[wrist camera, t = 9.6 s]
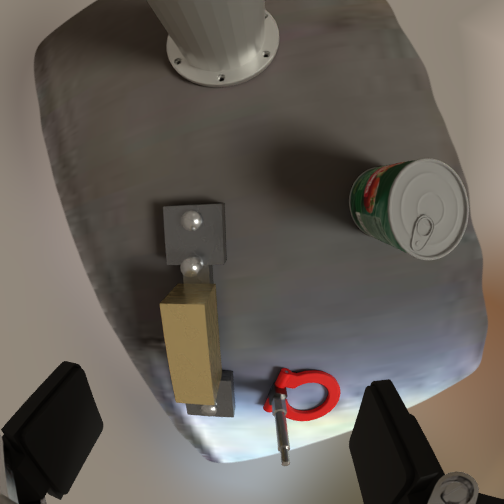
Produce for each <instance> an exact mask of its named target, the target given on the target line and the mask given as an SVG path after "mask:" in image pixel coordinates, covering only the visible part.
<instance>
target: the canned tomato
mask: <svg viewBox="0 0 504 504" xmlns="http://www.w3.org/2000/svg"><path fill="white" fill-rule="evenodd" d="M349 208H350V212H351V216H352V218H353V220H354V222H355V224H356V225H357V226H358V228H359V229H360V230H361V231H363V232H364V233H365V234H367V235H369V236H370V237H374V238H376V239H378V240H380V241H382V242H384V243H387V244H389V245H391V246H393V247H395V248H397V249H400V250H401V251H404V252H406V253H408V254H410V255H412V256H413V257H415V258H418V259H422V260H434V259H439V258H441V257H443V256H446V255H447V254H448V253H450V252H451V251H452V250H453V249H454V248H455V247H456V246H457V245H458V243H459V242H460V240H461V238H462V237H463V234H464V232H465V229H466V226H467V222H468V213H469V207H468V198H467V194H466V190H465V188H464V185H463V183H462V181H461V179H460V178H459V176H458V175H457V174H456V172H455V171H454V170H453V169H452V168H451V167H449V166H448V165H447V164H446V163H443V162H441V161H439V160H436V159H431V158H422V159H418V160H414V161H407V162H402V163H396V164H392V165H386V166H381V167H374V168H371V169H368V170H367V171H365V172H363V173H362V174H361V175H360V176H359V177H358V178H357V179H356V181H355V182H354V184H353V186H352V188H351V191H350V195H349Z"/></svg>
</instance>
